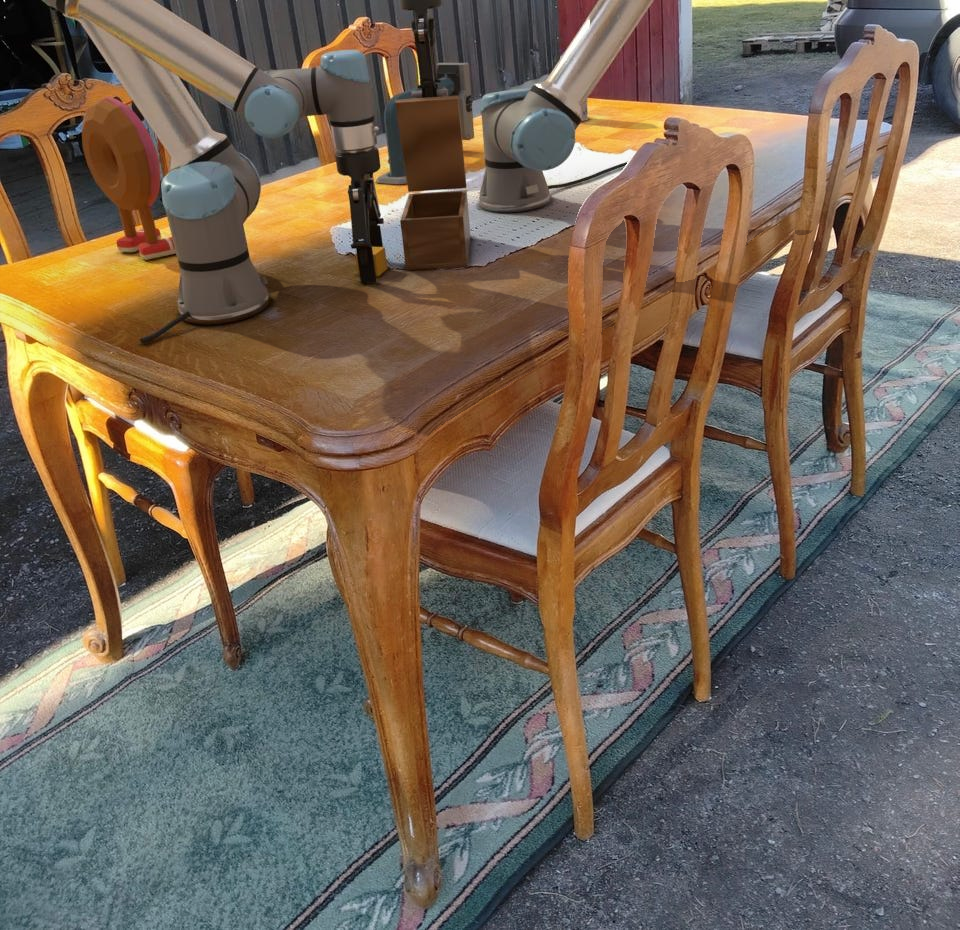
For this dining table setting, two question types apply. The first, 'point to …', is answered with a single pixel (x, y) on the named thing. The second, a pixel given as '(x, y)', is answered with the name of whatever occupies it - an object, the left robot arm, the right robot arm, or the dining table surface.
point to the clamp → (452, 79)
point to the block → (377, 260)
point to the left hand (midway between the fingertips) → (373, 271)
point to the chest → (436, 230)
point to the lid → (431, 141)
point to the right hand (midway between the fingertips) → (433, 122)
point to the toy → (126, 171)
